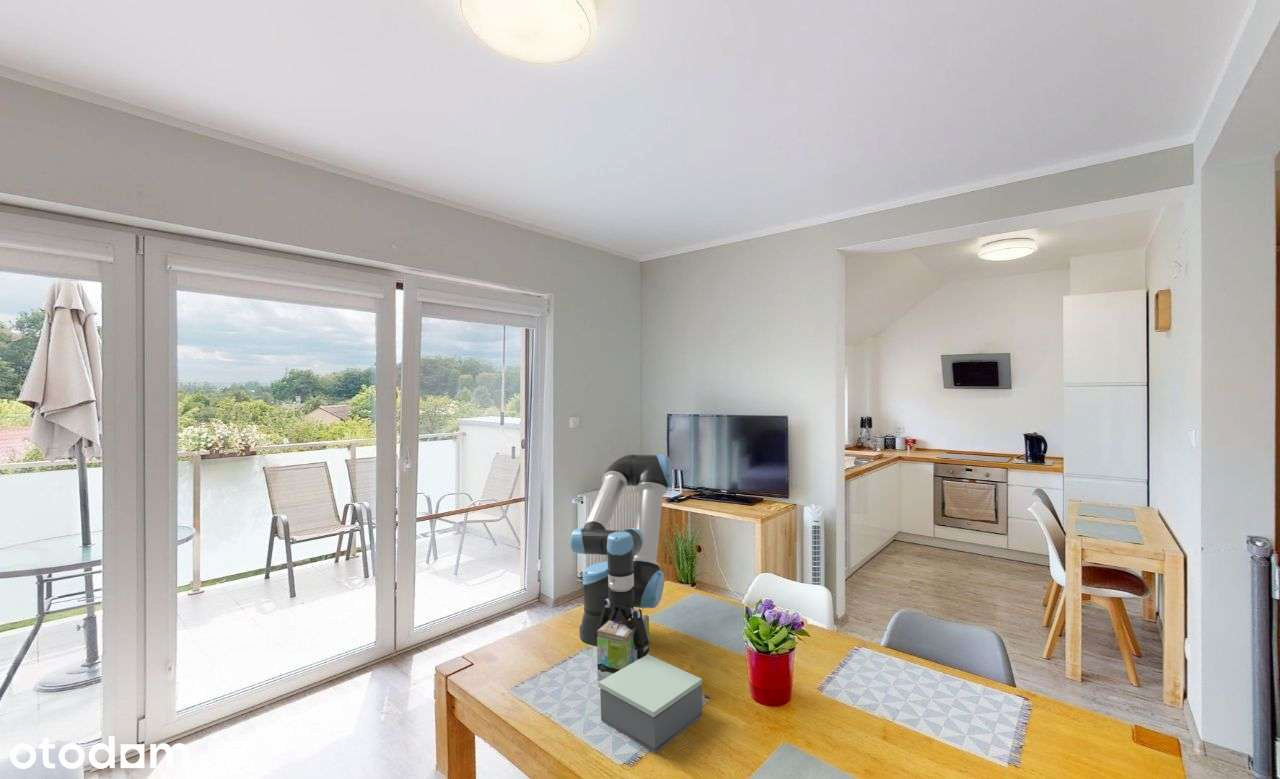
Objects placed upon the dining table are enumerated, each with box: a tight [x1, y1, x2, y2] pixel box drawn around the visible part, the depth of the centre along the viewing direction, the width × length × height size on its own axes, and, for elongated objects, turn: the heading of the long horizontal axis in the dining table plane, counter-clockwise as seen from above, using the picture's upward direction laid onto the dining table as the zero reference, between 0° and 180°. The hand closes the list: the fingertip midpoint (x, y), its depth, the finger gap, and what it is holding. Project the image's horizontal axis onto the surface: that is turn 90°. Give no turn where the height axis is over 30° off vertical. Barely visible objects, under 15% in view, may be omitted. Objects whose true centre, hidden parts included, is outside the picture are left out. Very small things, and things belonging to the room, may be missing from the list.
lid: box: [597, 654, 703, 717], centre depth 132 cm, size 18×18×1 cm
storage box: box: [599, 683, 703, 754], centre depth 132 cm, size 18×18×8 cm
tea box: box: [596, 613, 650, 682], centre depth 153 cm, size 15×10×15 cm, turn 155°
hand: (623, 661), depth 153 cm, fingers closed on tea box, 11 cm apart
